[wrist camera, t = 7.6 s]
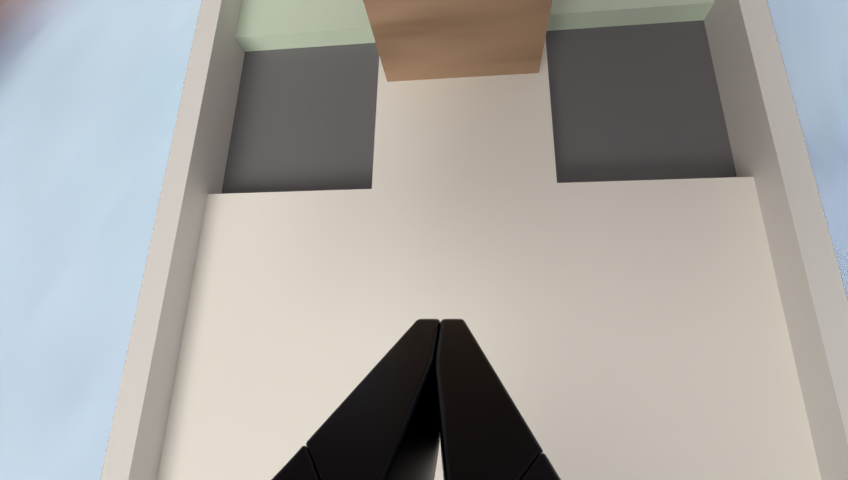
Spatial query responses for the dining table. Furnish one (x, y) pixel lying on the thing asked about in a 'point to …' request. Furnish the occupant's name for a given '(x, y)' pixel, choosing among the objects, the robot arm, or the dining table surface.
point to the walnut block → (458, 37)
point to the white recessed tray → (493, 245)
